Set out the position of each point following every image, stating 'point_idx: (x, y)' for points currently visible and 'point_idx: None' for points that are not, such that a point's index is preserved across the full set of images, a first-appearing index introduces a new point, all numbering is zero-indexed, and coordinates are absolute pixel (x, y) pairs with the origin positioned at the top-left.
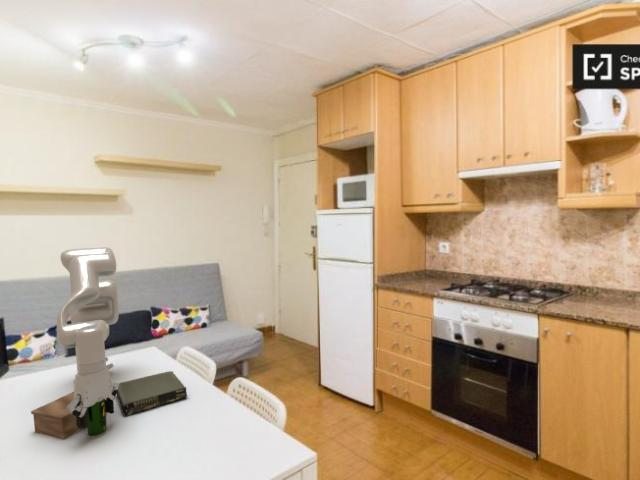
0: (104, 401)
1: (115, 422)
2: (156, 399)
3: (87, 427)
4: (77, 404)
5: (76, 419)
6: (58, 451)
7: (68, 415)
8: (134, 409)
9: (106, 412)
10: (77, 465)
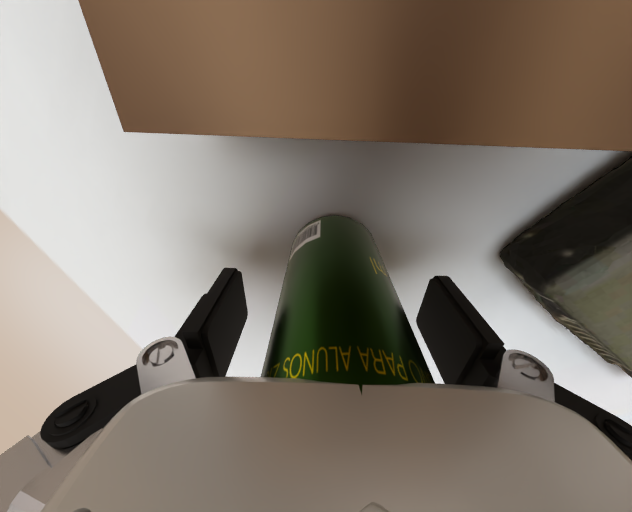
0: None
1: (438, 249)
2: (606, 360)
3: (287, 265)
4: (162, 408)
5: (182, 328)
6: (162, 203)
7: (216, 134)
8: (535, 295)
9: (428, 286)
10: (169, 333)
